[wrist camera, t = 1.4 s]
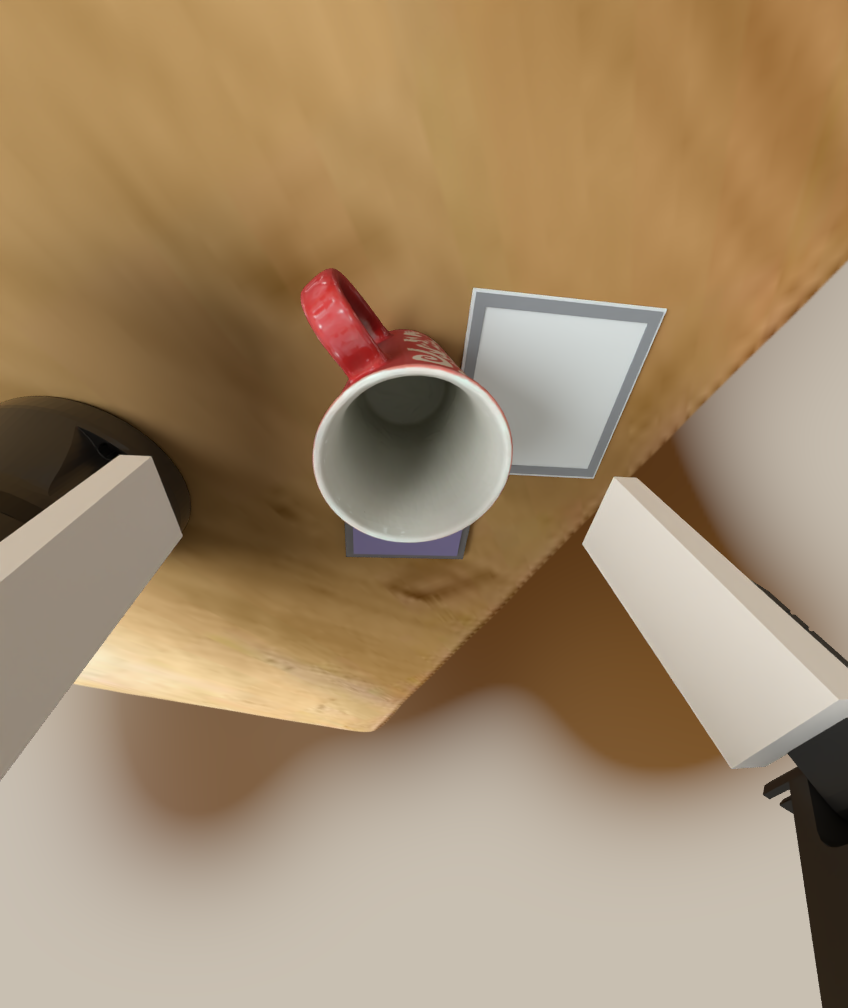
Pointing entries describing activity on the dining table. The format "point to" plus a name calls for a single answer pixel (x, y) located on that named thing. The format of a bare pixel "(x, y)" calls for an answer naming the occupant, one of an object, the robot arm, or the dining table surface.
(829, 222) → the dining table surface
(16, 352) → the dining table surface
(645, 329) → the print card
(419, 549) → the ink pad
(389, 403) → the mug
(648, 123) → the dining table surface
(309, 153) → the dining table surface
